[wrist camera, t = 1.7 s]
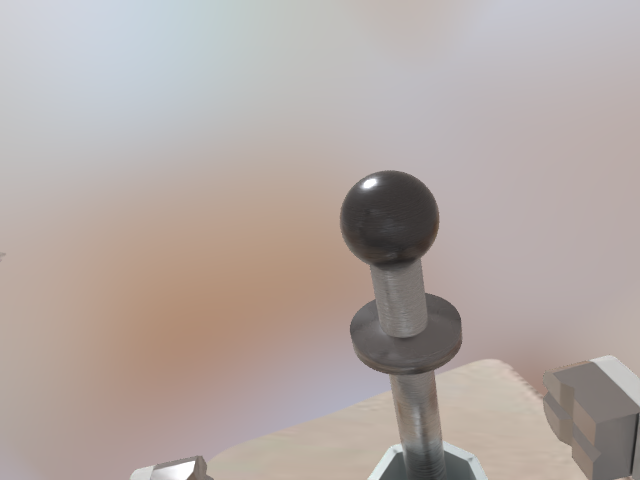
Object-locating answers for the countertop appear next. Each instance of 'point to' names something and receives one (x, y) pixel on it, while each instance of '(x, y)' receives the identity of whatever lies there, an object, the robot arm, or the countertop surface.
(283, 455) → the countertop surface
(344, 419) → the countertop surface
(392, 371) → the plunger
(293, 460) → the countertop surface
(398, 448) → the grey faceted holder
